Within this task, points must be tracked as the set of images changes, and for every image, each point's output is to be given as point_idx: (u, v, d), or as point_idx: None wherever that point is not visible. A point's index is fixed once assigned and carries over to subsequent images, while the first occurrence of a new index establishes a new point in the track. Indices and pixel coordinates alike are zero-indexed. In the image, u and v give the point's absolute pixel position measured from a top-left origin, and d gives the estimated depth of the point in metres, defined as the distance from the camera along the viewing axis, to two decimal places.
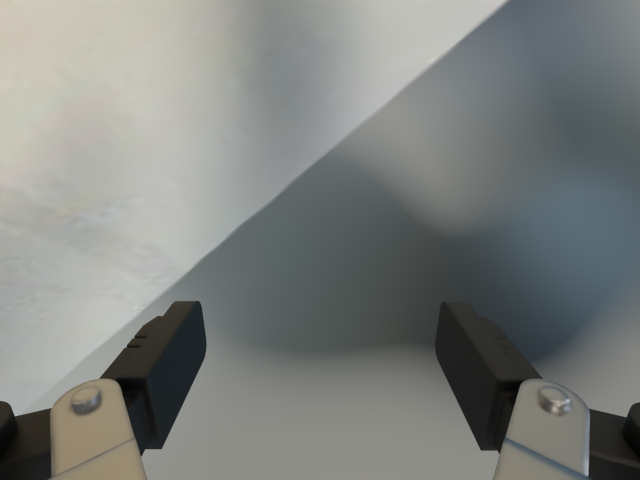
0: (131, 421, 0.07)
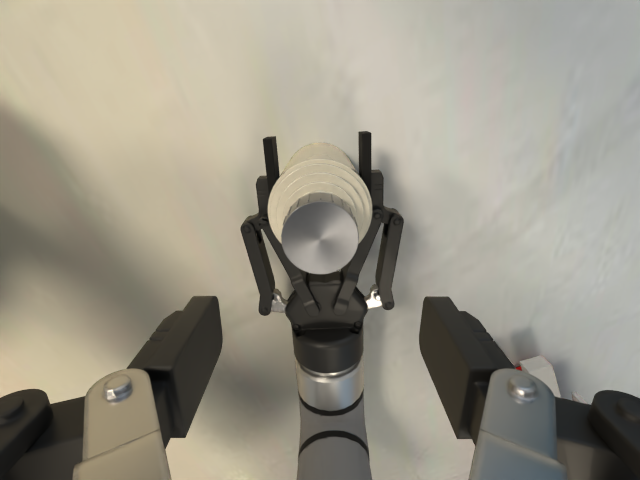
0: (159, 409, 0.08)
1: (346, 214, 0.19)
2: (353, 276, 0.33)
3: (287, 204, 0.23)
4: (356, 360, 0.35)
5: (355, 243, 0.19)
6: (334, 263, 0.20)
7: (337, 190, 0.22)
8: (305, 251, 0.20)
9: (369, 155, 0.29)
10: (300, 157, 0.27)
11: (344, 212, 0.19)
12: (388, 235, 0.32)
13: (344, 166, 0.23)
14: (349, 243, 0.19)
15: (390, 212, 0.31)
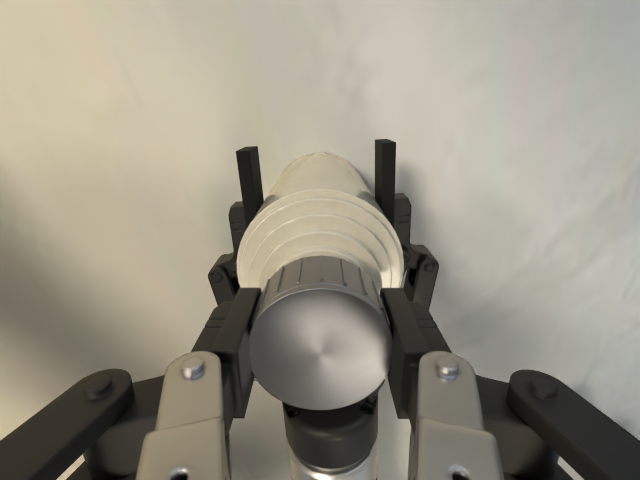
0: (227, 389, 0.08)
1: (372, 311, 0.10)
2: None
3: (265, 267, 0.13)
4: (369, 448, 0.26)
5: (387, 360, 0.10)
6: (347, 393, 0.11)
7: (350, 244, 0.13)
8: (293, 373, 0.10)
9: (393, 175, 0.20)
10: (290, 180, 0.18)
11: (368, 307, 0.10)
12: (416, 285, 0.22)
13: (360, 201, 0.14)
14: (376, 360, 0.10)
15: (419, 253, 0.22)
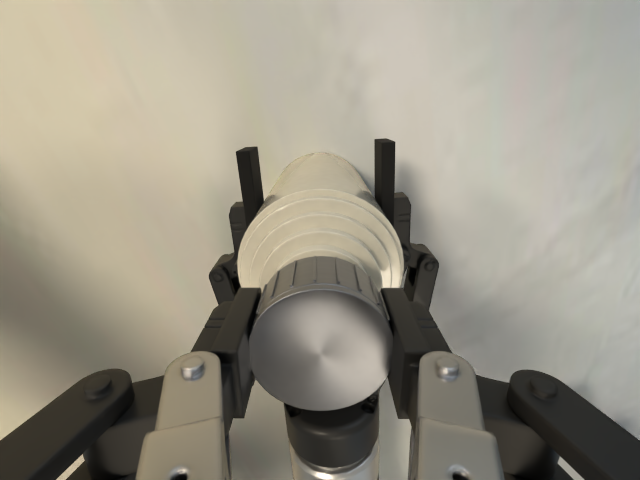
0: (227, 389, 0.08)
1: (264, 317, 0.10)
2: None
3: (266, 266, 0.13)
4: (370, 447, 0.26)
5: (322, 295, 0.09)
6: (369, 326, 0.10)
7: (350, 244, 0.13)
8: (347, 374, 0.10)
9: (392, 174, 0.20)
10: (290, 180, 0.18)
11: (261, 321, 0.10)
12: (416, 284, 0.22)
13: (360, 200, 0.14)
14: (323, 305, 0.10)
15: (419, 252, 0.22)
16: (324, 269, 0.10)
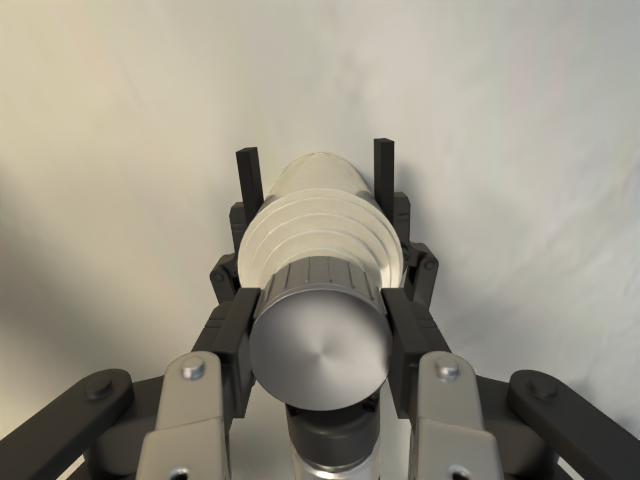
0: (227, 389, 0.08)
1: (285, 400, 0.11)
2: None
3: (266, 266, 0.14)
4: (372, 446, 0.26)
5: (253, 360, 0.10)
6: (281, 317, 0.10)
7: (349, 243, 0.13)
8: (343, 329, 0.10)
9: (391, 174, 0.20)
10: (290, 180, 0.18)
11: (289, 402, 0.11)
12: (416, 283, 0.23)
13: (359, 199, 0.14)
14: (264, 357, 0.10)
15: (419, 251, 0.22)
16: None
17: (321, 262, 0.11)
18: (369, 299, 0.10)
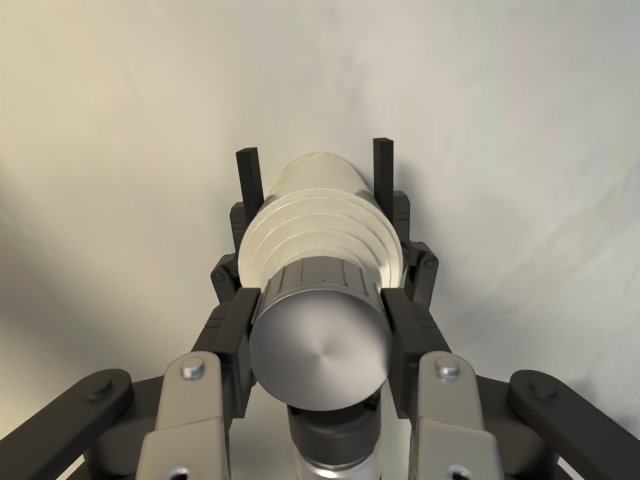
0: (226, 389, 0.08)
1: (381, 380, 0.10)
2: None
3: (266, 265, 0.14)
4: (373, 444, 0.26)
5: (333, 407, 0.11)
6: (283, 387, 0.11)
7: (349, 242, 0.13)
8: (288, 339, 0.10)
9: (391, 173, 0.20)
10: (289, 180, 0.18)
11: (384, 376, 0.10)
12: (416, 282, 0.23)
13: (358, 198, 0.14)
14: (329, 398, 0.11)
15: (419, 250, 0.22)
16: None
17: None
18: (258, 314, 0.10)
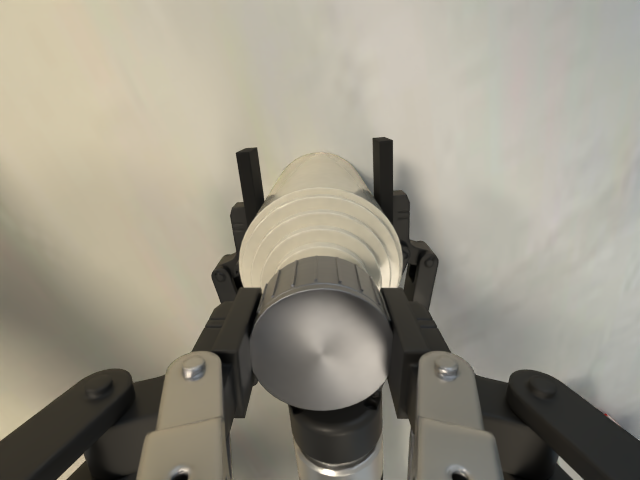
0: (227, 389, 0.08)
1: (349, 297, 0.09)
2: None
3: (266, 264, 0.14)
4: (374, 443, 0.26)
5: (388, 338, 0.10)
6: (366, 381, 0.10)
7: (348, 241, 0.13)
8: (307, 381, 0.10)
9: (390, 172, 0.20)
10: (289, 180, 0.18)
11: (343, 295, 0.09)
12: (417, 280, 0.23)
13: (358, 198, 0.14)
14: (377, 341, 0.10)
15: (419, 249, 0.22)
16: None
17: None
18: None
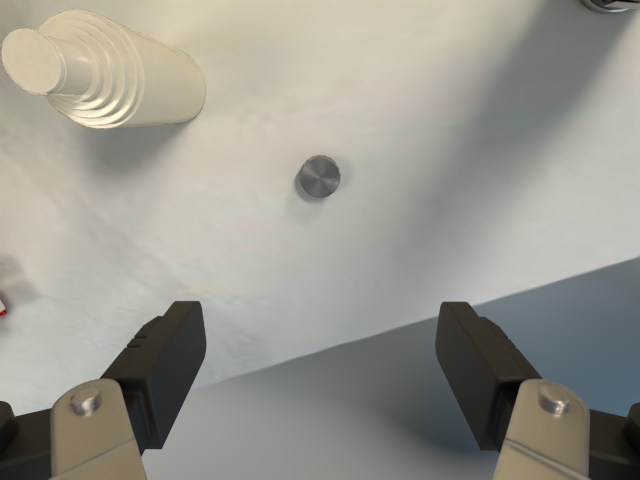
0: (131, 421, 0.07)
1: (327, 160, 0.37)
2: None
3: (83, 33, 0.21)
4: None
5: (337, 172, 0.38)
6: (332, 187, 0.38)
7: (106, 90, 0.23)
8: (316, 187, 0.38)
9: None
10: (160, 59, 0.27)
11: (325, 159, 0.37)
12: None
13: (139, 102, 0.24)
14: (335, 174, 0.38)
15: None
16: None
17: None
18: (311, 194, 0.39)
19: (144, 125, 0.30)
